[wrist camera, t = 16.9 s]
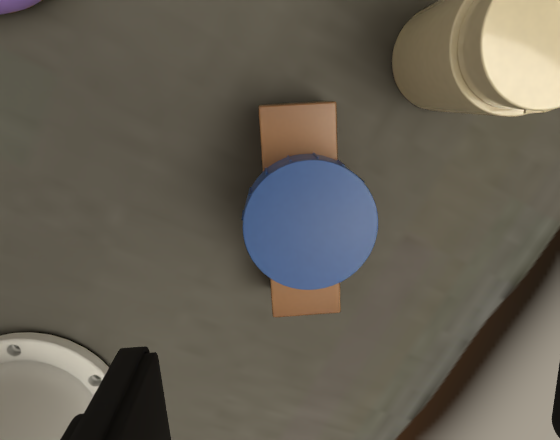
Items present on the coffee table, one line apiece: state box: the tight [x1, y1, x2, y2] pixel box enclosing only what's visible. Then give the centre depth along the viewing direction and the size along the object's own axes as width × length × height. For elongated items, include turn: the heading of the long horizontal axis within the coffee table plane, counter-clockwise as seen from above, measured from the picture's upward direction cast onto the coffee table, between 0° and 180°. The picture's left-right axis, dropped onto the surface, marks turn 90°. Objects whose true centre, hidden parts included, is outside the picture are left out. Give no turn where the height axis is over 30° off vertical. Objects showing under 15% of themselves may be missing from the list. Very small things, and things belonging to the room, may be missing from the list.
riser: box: [258, 101, 340, 317], centre depth 25 cm, size 12×4×4 cm, turn 3°
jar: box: [392, 0, 560, 117], centre depth 21 cm, size 6×6×10 cm
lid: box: [242, 153, 378, 290], centre depth 22 cm, size 7×7×2 cm
